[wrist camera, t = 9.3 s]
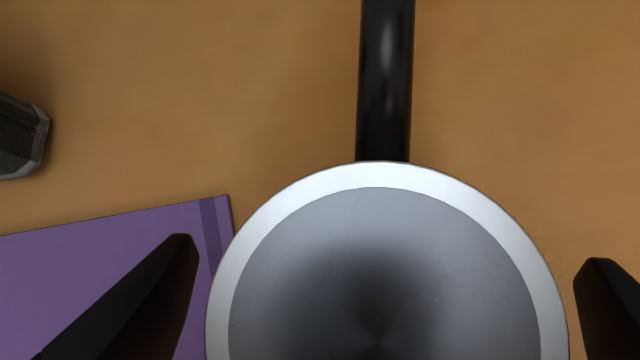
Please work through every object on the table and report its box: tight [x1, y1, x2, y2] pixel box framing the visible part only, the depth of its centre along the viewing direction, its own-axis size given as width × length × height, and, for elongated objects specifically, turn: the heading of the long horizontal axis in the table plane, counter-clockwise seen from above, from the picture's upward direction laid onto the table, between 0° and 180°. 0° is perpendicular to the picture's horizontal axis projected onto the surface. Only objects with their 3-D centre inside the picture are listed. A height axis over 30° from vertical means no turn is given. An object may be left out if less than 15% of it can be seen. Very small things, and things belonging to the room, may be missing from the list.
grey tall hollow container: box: [204, 0, 570, 360], centre depth 12 cm, size 13×7×9 cm, turn 177°
